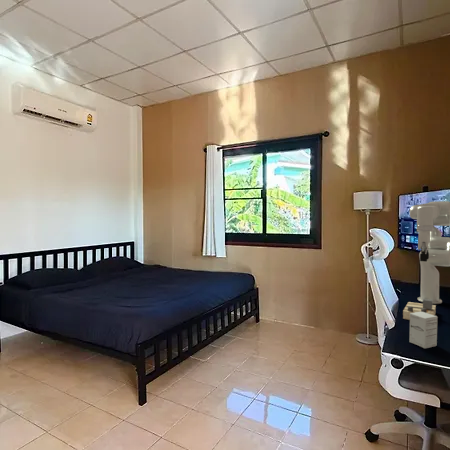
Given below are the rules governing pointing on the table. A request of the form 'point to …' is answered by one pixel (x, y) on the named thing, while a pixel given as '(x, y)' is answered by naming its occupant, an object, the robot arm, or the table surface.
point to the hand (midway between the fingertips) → (424, 260)
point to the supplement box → (423, 329)
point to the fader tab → (427, 304)
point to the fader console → (416, 309)
